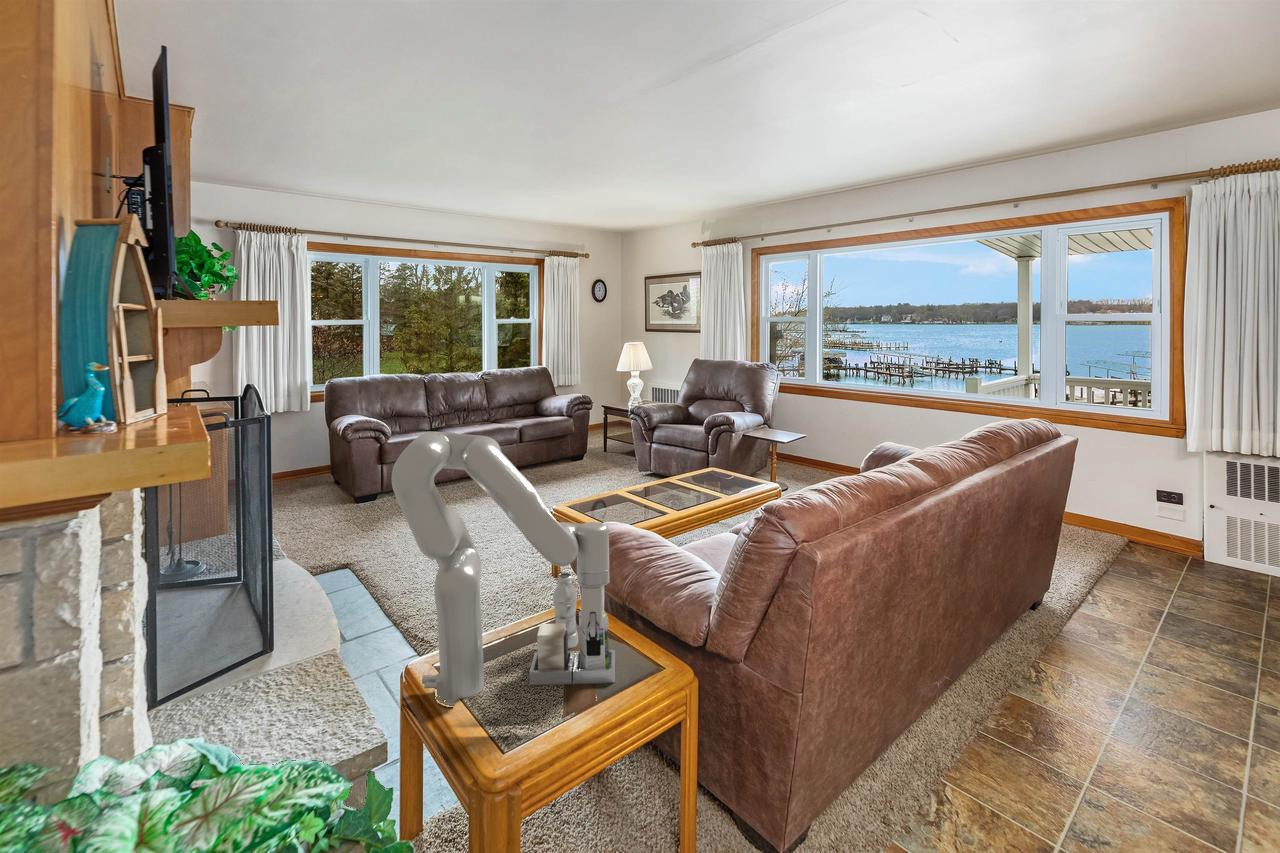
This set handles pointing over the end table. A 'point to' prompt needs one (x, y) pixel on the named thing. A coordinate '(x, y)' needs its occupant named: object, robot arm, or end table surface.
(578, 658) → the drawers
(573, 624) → the plastic bottle
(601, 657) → the syrup box
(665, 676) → the end table surface
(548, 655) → the beige curved-top block
